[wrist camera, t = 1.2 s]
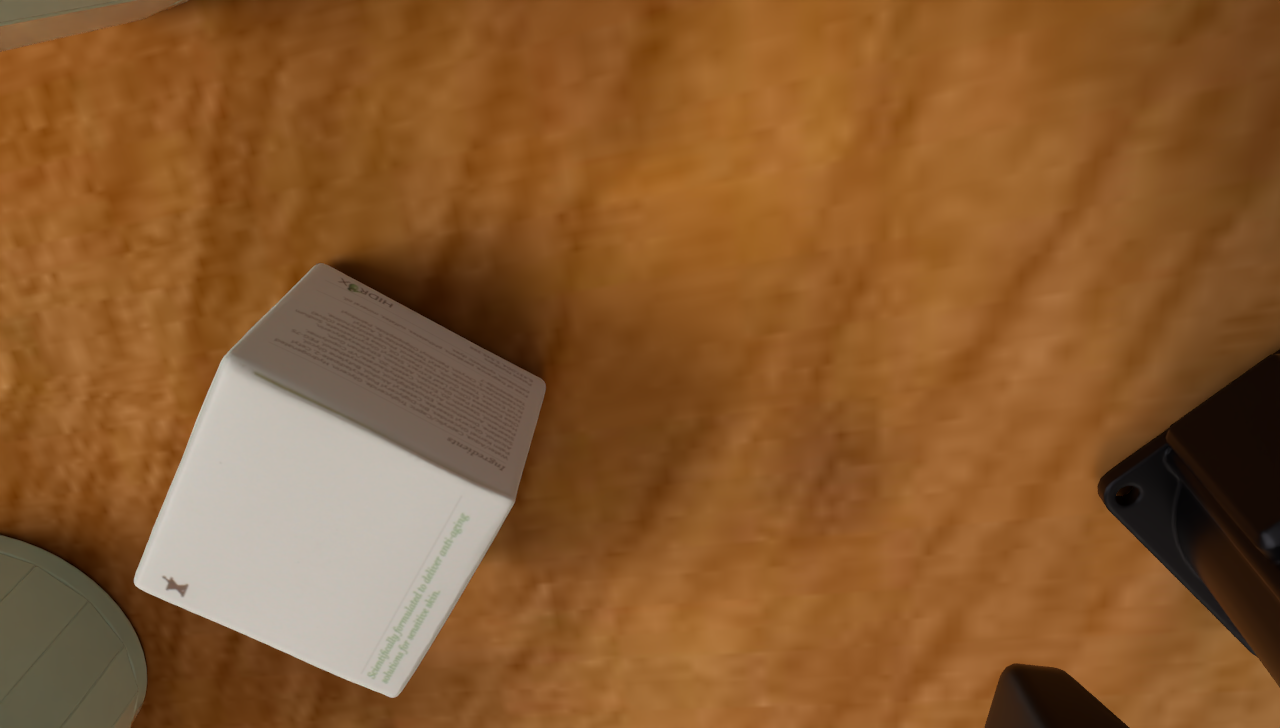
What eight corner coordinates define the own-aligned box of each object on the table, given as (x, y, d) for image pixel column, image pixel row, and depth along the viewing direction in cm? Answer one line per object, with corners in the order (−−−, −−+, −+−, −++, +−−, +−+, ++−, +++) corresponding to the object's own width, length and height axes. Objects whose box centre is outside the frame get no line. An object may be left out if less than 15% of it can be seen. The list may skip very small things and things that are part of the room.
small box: (450, 561, 24) (394, 712, 20) (227, 454, 23) (115, 587, 19) (559, 378, 22) (523, 501, 17) (316, 251, 21) (212, 346, 17)
